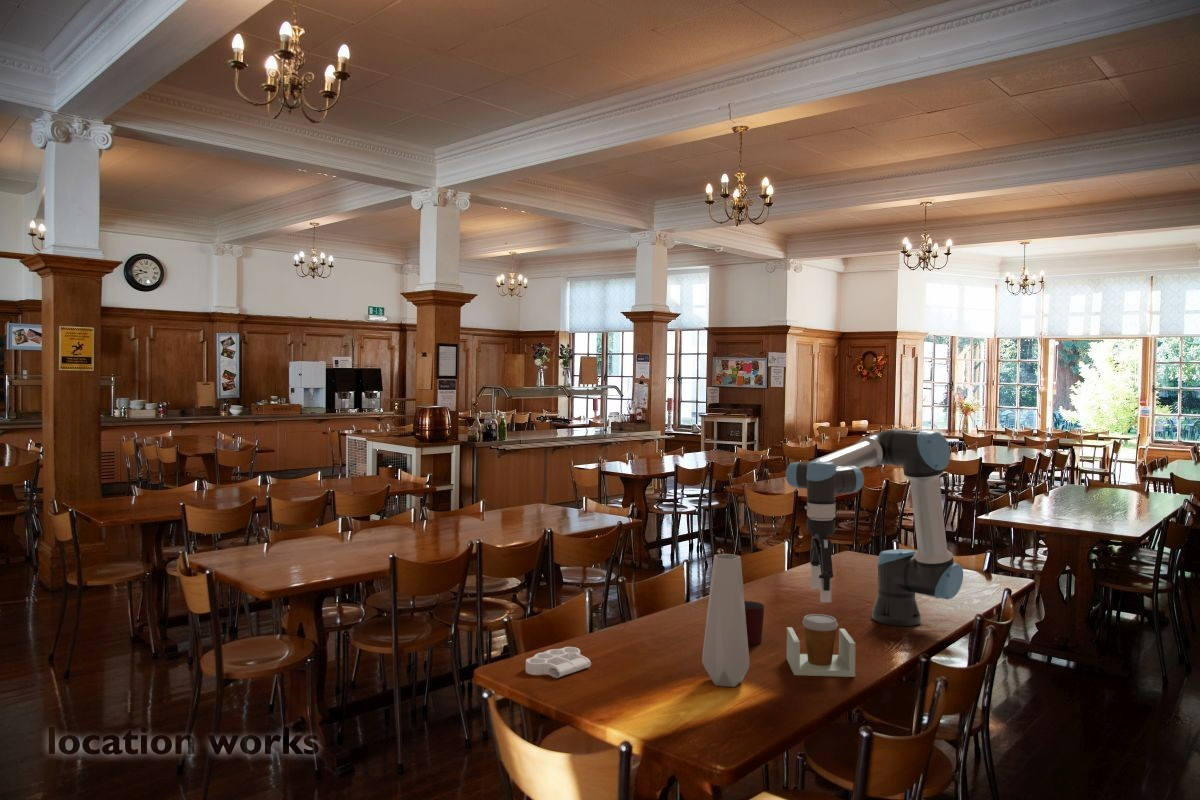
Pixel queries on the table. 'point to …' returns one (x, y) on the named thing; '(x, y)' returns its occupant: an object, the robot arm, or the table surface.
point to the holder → (801, 666)
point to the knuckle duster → (557, 662)
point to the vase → (726, 624)
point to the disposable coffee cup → (820, 638)
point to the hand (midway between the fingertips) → (820, 595)
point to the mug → (754, 621)
